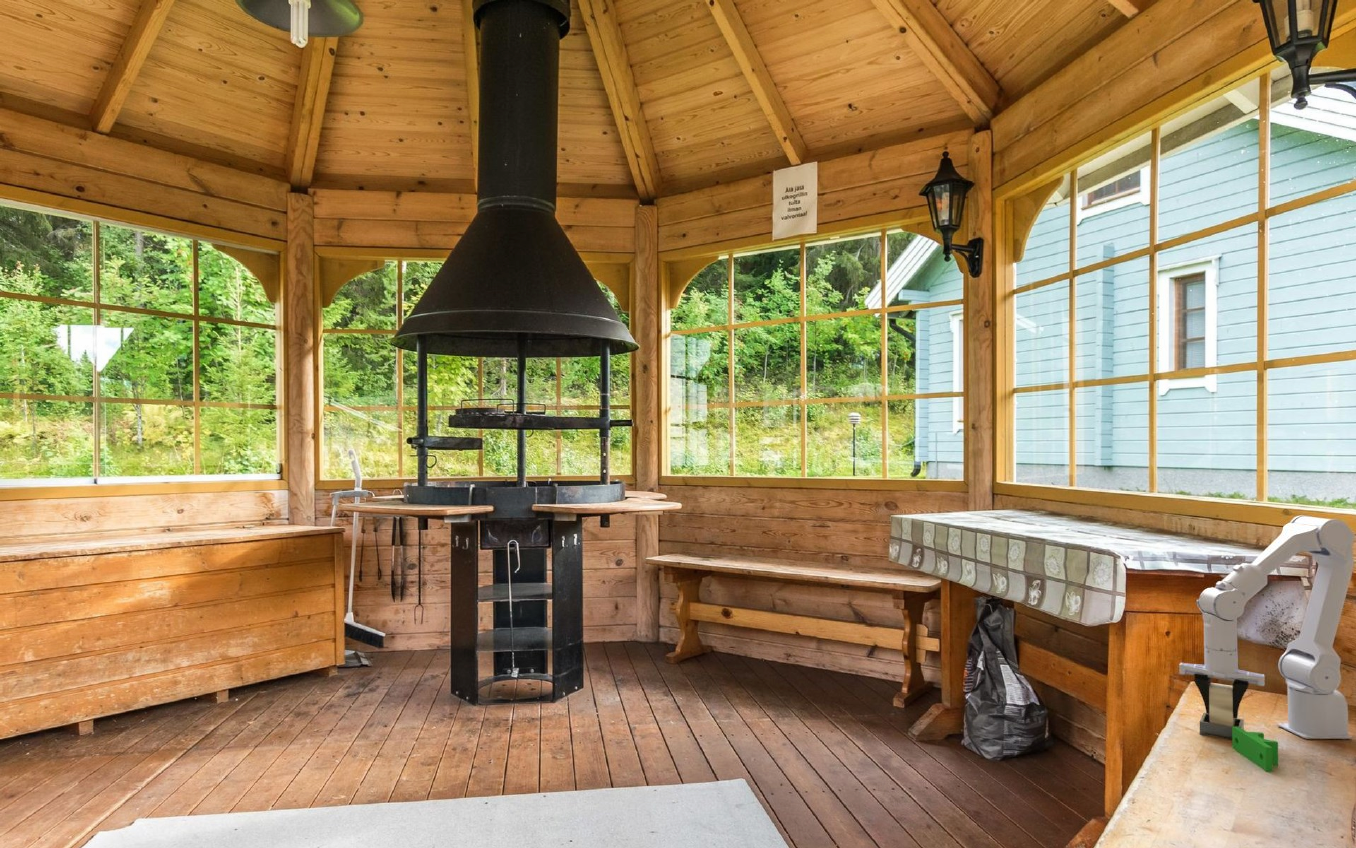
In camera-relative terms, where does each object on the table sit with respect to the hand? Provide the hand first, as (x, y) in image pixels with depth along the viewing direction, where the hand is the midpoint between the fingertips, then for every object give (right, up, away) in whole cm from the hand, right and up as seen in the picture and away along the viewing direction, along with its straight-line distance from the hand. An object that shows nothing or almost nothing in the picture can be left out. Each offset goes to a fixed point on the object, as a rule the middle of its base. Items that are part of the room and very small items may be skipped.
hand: (1221, 714), depth 169 cm
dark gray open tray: (0, -4, 0) cm, 4 cm away
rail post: (0, -2, 0) cm, 2 cm away
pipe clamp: (-3, -4, -14) cm, 15 cm away
